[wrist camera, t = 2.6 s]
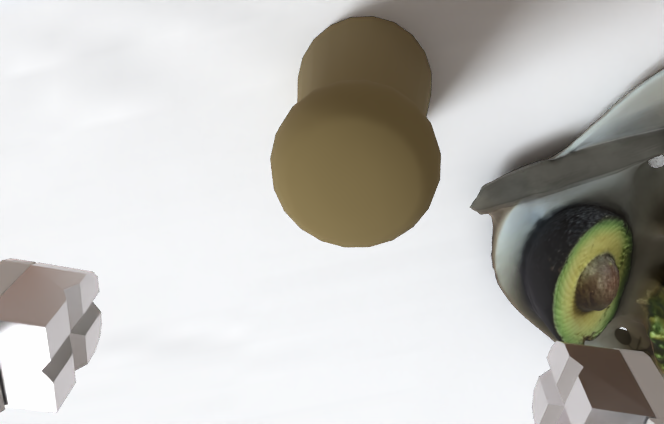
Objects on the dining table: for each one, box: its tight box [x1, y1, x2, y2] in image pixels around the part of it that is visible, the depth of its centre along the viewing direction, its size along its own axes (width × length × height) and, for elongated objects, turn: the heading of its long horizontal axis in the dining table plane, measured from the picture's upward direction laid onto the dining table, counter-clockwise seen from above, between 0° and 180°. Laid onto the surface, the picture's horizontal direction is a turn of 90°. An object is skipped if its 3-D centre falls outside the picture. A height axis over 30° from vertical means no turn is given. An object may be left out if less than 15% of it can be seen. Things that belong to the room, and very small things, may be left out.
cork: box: [270, 16, 441, 247], centre depth 21 cm, size 6×6×11 cm
